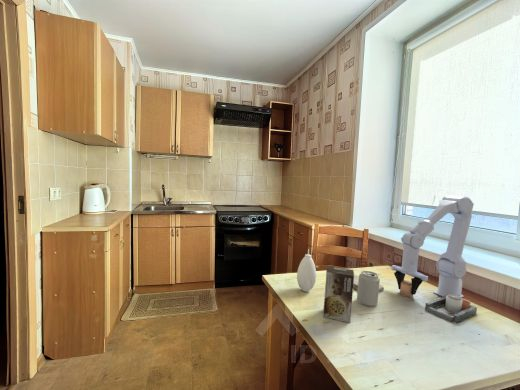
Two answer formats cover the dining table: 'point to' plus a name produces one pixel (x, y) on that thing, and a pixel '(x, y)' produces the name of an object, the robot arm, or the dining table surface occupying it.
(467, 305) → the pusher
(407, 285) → the terracotta jar
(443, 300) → the grey tray
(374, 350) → the dining table surface
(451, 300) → the grey jar
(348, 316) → the coffee box
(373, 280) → the can
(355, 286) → the washcloth
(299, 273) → the sauce bottle
